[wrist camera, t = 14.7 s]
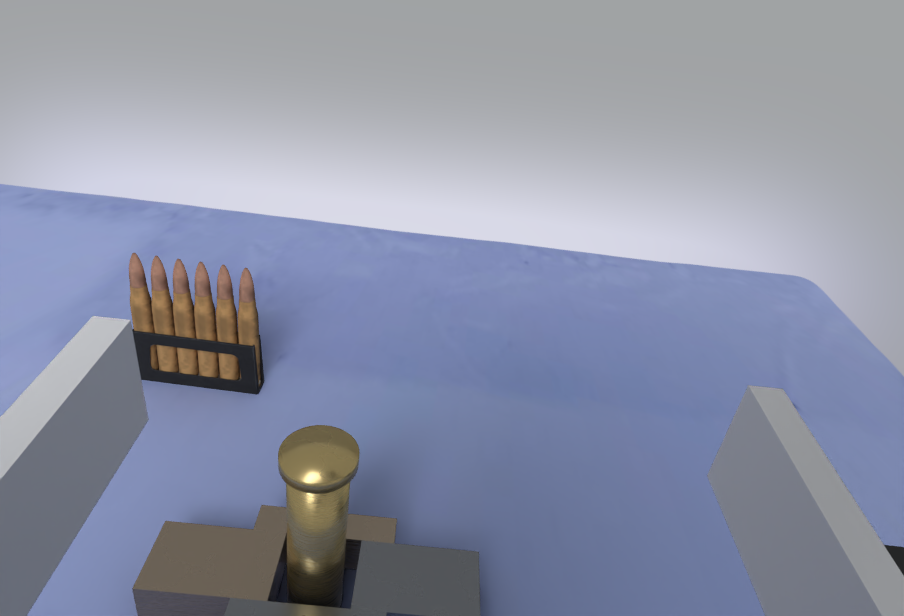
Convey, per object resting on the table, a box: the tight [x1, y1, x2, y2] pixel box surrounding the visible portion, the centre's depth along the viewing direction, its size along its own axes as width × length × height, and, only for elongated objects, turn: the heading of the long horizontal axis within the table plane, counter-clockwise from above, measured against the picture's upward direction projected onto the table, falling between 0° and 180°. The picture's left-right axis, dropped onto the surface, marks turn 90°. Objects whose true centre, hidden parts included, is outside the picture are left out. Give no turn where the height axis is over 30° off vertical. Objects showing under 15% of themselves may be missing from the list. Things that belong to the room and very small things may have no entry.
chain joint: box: [132, 505, 480, 616], centre depth 40 cm, size 20×9×3 cm, turn 88°
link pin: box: [278, 425, 359, 608], centre depth 38 cm, size 4×4×13 cm
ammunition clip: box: [129, 253, 264, 394], centre depth 54 cm, size 11×2×12 cm, turn 87°
